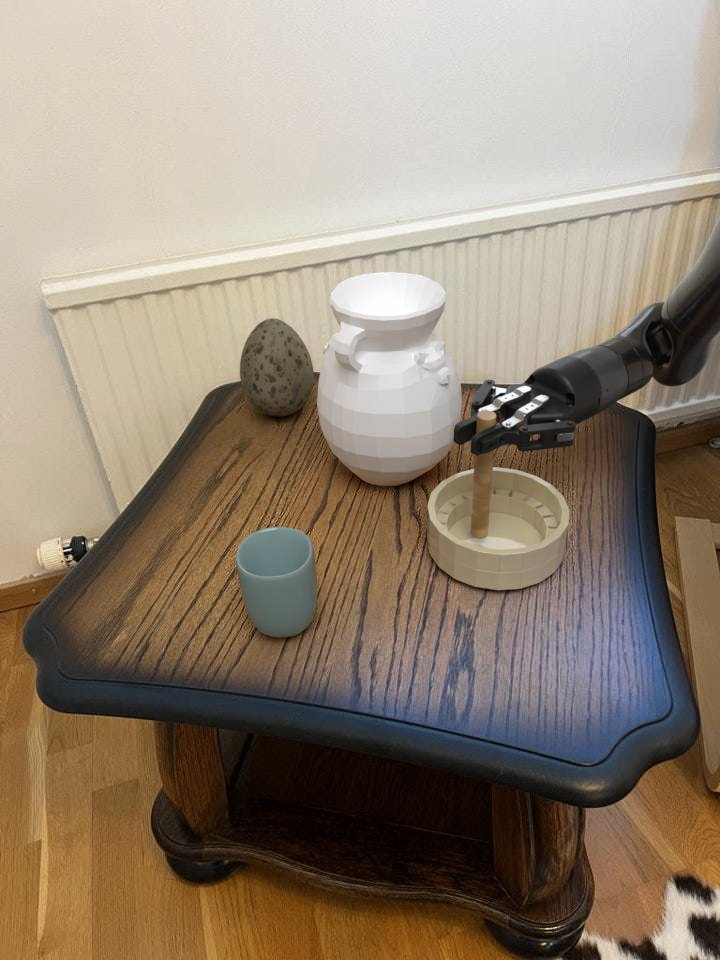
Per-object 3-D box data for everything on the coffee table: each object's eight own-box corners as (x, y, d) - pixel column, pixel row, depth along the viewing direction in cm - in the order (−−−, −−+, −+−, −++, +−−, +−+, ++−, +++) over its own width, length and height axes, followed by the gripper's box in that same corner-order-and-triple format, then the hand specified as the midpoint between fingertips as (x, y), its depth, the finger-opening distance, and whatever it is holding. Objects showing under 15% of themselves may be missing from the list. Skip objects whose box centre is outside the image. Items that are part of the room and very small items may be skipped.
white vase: (402, 528, 92) (401, 340, 77) (294, 474, 102) (274, 299, 87) (486, 458, 103) (499, 282, 89) (381, 416, 113) (377, 251, 99)
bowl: (582, 532, 90) (589, 492, 87) (530, 614, 80) (535, 573, 76) (464, 492, 97) (466, 453, 94) (403, 563, 87) (402, 523, 84)
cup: (323, 595, 84) (316, 525, 78) (318, 649, 77) (310, 578, 71) (253, 595, 84) (241, 526, 78) (242, 650, 78) (228, 579, 72)
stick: (490, 531, 88) (499, 413, 79) (483, 541, 87) (491, 421, 77) (475, 525, 89) (482, 408, 79) (467, 535, 88) (473, 416, 78)
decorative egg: (294, 387, 122) (285, 298, 113) (330, 415, 114) (323, 323, 105) (234, 408, 117) (219, 318, 108) (266, 439, 110) (253, 344, 101)
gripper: (534, 337, 88) (421, 384, 80) (633, 380, 79) (516, 438, 71) (528, 393, 93) (420, 444, 85) (621, 440, 84) (510, 502, 76)
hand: (465, 441), depth 78 cm, fingers closed on stick, 2 cm apart
